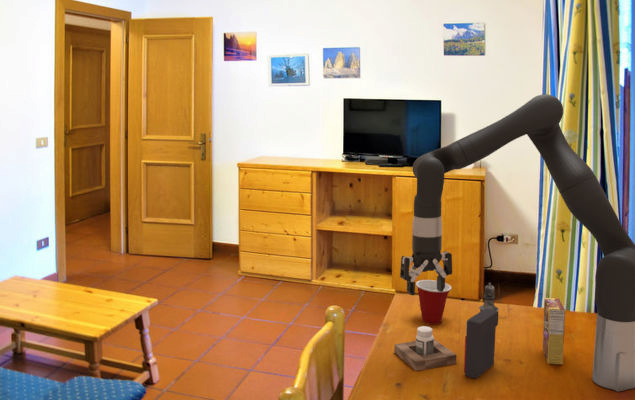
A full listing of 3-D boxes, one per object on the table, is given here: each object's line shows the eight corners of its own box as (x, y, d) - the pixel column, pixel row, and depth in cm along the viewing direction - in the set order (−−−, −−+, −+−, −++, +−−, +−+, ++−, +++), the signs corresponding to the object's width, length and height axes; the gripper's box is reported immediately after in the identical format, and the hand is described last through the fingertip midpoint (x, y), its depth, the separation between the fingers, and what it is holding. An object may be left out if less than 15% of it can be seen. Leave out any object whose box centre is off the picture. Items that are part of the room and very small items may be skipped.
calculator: (480, 360, 169) (483, 307, 166) (496, 365, 166) (498, 310, 164) (462, 375, 161) (464, 319, 158) (477, 380, 158) (480, 323, 155)
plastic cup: (453, 327, 192) (455, 289, 190) (418, 327, 192) (418, 289, 190) (446, 314, 203) (447, 278, 201) (412, 314, 203) (413, 278, 201)
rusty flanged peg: (474, 317, 200) (476, 280, 198) (489, 314, 203) (491, 278, 200) (487, 323, 195) (488, 286, 193) (502, 320, 197) (503, 283, 195)
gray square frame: (456, 363, 167) (456, 354, 167) (415, 371, 163) (416, 361, 163) (432, 346, 179) (432, 338, 178) (394, 352, 174) (394, 344, 174)
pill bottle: (432, 354, 173) (433, 325, 171) (434, 362, 168) (434, 332, 167) (415, 354, 173) (415, 325, 172) (416, 361, 169) (416, 332, 167)
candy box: (541, 350, 176) (544, 297, 173) (557, 351, 175) (560, 298, 172) (545, 363, 167) (548, 308, 164) (562, 365, 166) (566, 309, 163)
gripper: (409, 238, 159) (408, 300, 162) (458, 233, 164) (457, 293, 166) (395, 232, 166) (395, 291, 168) (443, 227, 171) (441, 285, 173)
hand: (426, 292), depth 167 cm, fingers open, 8 cm apart
